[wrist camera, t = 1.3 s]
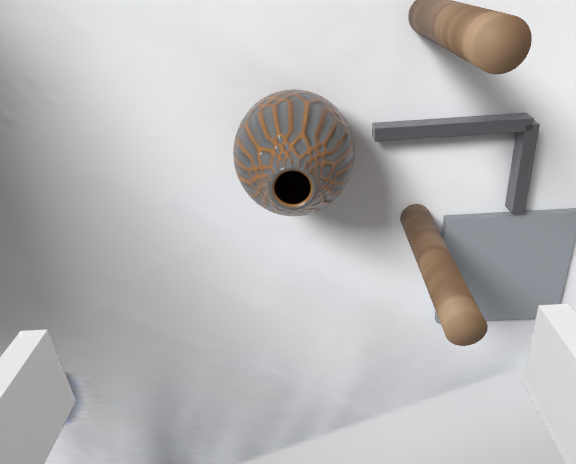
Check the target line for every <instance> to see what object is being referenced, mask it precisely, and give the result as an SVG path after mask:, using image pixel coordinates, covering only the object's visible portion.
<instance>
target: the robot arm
mask: <svg viewBox="0 0 576 464" xmlns="http://www.w3.org/2000/svg"><path fill="white" fill-rule="evenodd" d="M523 384H524V386H525V388H526V390H527V392H528V394H529V396H530V397H531V399H532V401H533V403H534V405H535V407H536V408H537V410H538V413H539V414H540V416H541V418H542V420H543V422H544V424H545V425H546V428H547V429H548V431H549V433H550V435H551V437H552V439H553V441H554V443H555V444H556V446H557V448H558V450H559V452H560V454H561V456H562V458H563V459H564V461H565V463H566V464H576V312H575V311H574V309H573V308H572V307H571V306H570V304H554V305H539V306H538V311H537V316H536V320H535V325H534V330H533V335H532V340H531V345H530V350H529V355H528V360H527V364H526V369H525V374H524V379H523ZM75 402H76V400H75V397H74V395H73V392H72V390H71V387H70V385H69V382H68V379H67V377H66V374H65V372H64V369H63V367H62V364H61V362H60V359H59V357H58V354H57V352H56V349H55V347H54V344H53V342H52V339H51V337H50V334H49V332H48V329H47V330H27V331H20V332H19V333H18V335H17V336H16V337H15V339H14V340H13V341H12V343H11V344H10V345H9V347H8V348H7V349H6V351H5V352H4V353H3V354H2V356H1V357H0V464H44V463H45V461H46V459H47V457H48V455H49V453H50V451H51V449H52V447H53V445H54V443H55V441H56V439H57V437H58V436H59V434H60V432H61V430H62V428H63V426H64V424H65V422H66V420H67V418H68V416H69V414H70V412H71V410H72V408H73V406H74V404H75Z"/></svg>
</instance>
